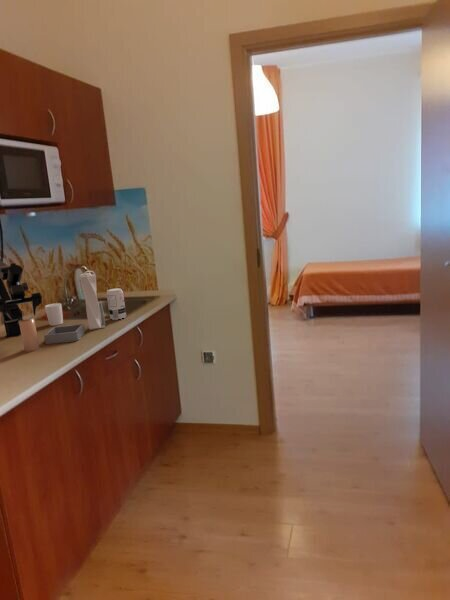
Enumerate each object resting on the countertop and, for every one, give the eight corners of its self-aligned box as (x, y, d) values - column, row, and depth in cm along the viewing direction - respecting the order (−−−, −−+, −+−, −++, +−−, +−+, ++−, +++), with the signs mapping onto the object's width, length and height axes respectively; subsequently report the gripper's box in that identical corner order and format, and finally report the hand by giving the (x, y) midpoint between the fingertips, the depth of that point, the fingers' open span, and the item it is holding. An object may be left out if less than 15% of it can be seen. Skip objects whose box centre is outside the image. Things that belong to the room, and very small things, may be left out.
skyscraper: (104, 328, 224) (95, 270, 218) (86, 331, 223) (77, 272, 217) (106, 324, 233) (97, 267, 227) (89, 326, 232) (80, 269, 226)
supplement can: (109, 318, 245) (105, 289, 242) (125, 315, 248) (121, 287, 245) (111, 321, 238) (107, 292, 235) (127, 318, 241) (123, 289, 237)
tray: (45, 344, 208) (44, 335, 207) (55, 335, 221) (53, 326, 221) (78, 340, 208) (76, 332, 207) (85, 332, 222) (84, 323, 221)
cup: (22, 352, 199) (16, 322, 196) (27, 348, 205) (21, 318, 202) (36, 350, 199) (31, 320, 196) (41, 346, 205) (36, 317, 202)
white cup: (61, 325, 240) (57, 306, 238) (45, 326, 240) (42, 307, 238) (66, 321, 247) (63, 302, 245) (51, 322, 248) (48, 303, 246)
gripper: (-9, 281, 201) (-1, 310, 194) (37, 274, 211) (46, 302, 204) (-8, 297, 210) (0, 325, 203) (37, 289, 219) (45, 316, 212)
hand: (23, 317), depth 205 cm, fingers open, 9 cm apart
